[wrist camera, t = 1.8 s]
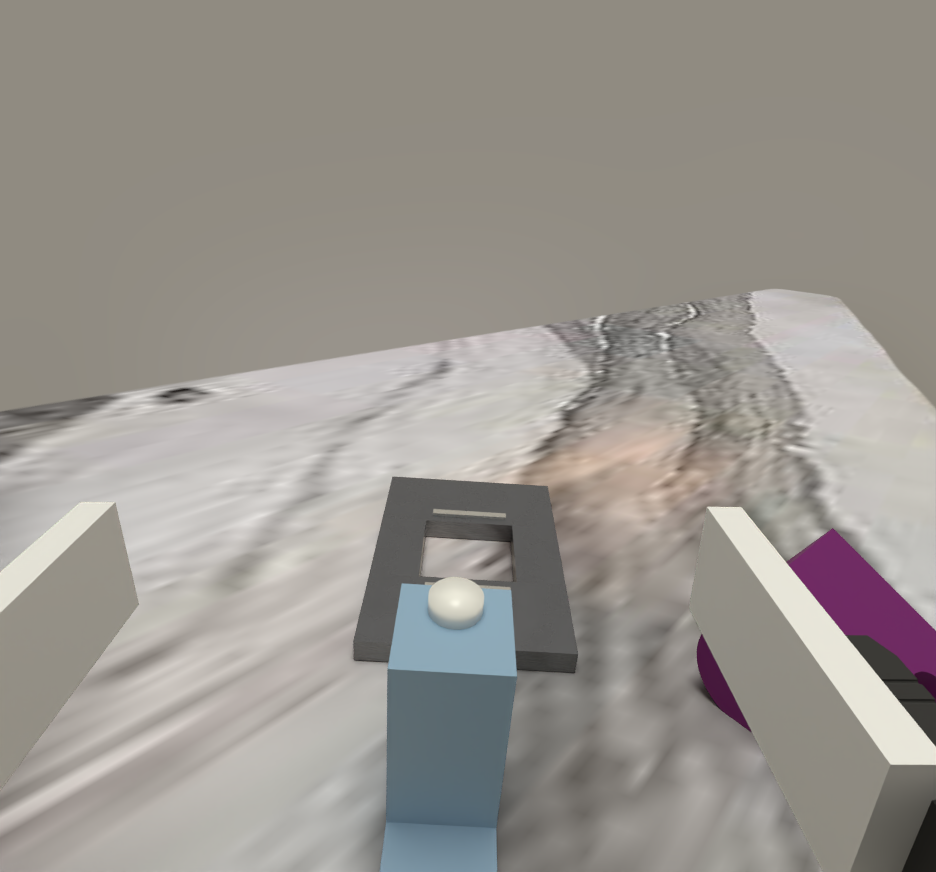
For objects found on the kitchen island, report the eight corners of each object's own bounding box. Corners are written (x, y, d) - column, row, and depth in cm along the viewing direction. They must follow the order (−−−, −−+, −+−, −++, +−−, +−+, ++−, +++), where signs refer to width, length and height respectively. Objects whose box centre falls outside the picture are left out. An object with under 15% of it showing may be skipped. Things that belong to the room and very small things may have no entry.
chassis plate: (574, 672, 40) (578, 651, 40) (354, 659, 40) (353, 638, 39) (545, 501, 58) (547, 484, 57) (392, 491, 58) (392, 474, 57)
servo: (492, 918, 28) (522, 717, 22) (378, 912, 28) (378, 708, 22) (489, 723, 37) (510, 542, 31) (403, 718, 37) (407, 536, 31)
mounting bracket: (963, 834, 39) (747, 590, 46) (1106, 801, 33) (833, 527, 40) (910, 948, 33) (673, 650, 40) (1072, 933, 27) (761, 587, 34)
